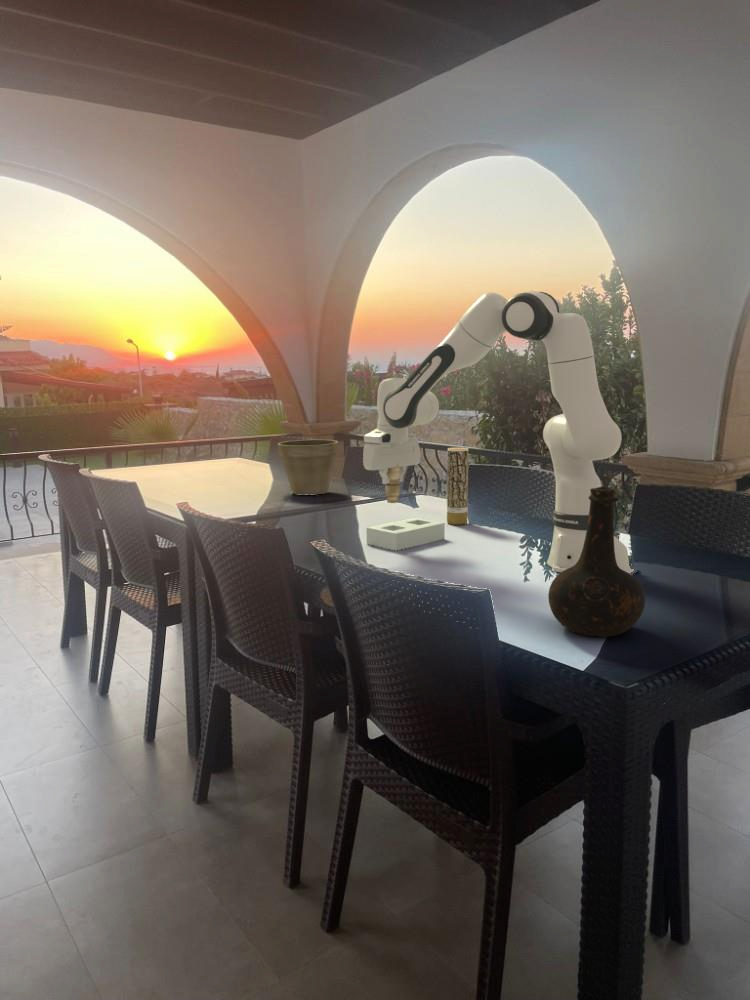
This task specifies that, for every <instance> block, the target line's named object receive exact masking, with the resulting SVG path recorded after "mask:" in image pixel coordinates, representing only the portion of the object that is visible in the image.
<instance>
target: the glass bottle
mask: <svg viewBox="0 0 750 1000" xmlns="http://www.w3.org/2000/svg"><path fill="white" fill-rule="evenodd" d="M590 491H591V495H590V496H589V497H588V498H589V500H590V510H589V517H588V525H587V531H586V536H585V541H584V546H583V549H582V552H581V555H580V558H579V560H578V562H577V563H576V564H575V565H574V566H572V567H570V568H568V569H566V570H564V571H563V572H559V573H558V574H557V575H556V576H555V577H554V579H553V580H552V582H551V584H550V586H549V589H548V595H547V596H548V604H549V607H550V611H551V613H552V614H553V616H554V618H555V619H556V621H557V622H558V623H559V624H560V625H561V626H562V627H564V628H565V629H567V630H568V631H571V632H572V633H576V634H579V635H582V634H583V635H584V636H587V635H588V636H587V637H594V636H596V637H597V638H607V637H609V636H610V637H616V636H618V635H619V636H620V635H622V634H623V633H625V632H627V631H628V630H630V628H633V626H634V625H635V624H636V623H637V622H638V621H639V619H640V618H641V616H642V614H643V612H644V609H645V606H646V594H645V591H644V589H643V586H642V585H641V583H640V581H638V579H637V578H636V577H635V576H634V575H631V574H629V573H628V572H626V571H624V570H622V569H620V568H619V567H618V565H617V562H616V558H615V550H614V536H615V534H614V533H615V532H614V527H615V525H614V524H615V523H614V522H615V521H614V517H615V515H614V513H615V512H614V511H615V503H616V502H618V501H620V498H619V497H617V496H615V495H616V494H615V493H616V489H615V488H612V487H608V486H607V487H606V486H601V487H598V488H591V489H590Z"/></svg>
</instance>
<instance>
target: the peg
mask: <svg viewBox="0 0 750 1000" xmlns="http://www.w3.org/2000/svg"><path fill="white" fill-rule="evenodd" d="M386 474H387V476H388V478H390V484H385V497H386V503H387V504H388V503H389V504H397V503H399V496H400V484H401V482H400V467H399V461H397V462H396V466H395V467H394V468H388V472H386Z"/></svg>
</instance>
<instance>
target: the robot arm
mask: <svg viewBox="0 0 750 1000" xmlns="http://www.w3.org/2000/svg"><path fill="white" fill-rule="evenodd" d="M505 333H509V334H510V335H511V336H513V337H515V338H518V339H522V340H532V341H537V342H539V341H542V343H543V344H544V346H545V350H546V356H547V363H548V364H547V365H548V371H549V379H550V380H549V381H550V388H551V394H552V395H553V397H554V399H555V400H556V402H557V403H558V405H559V406H560V408H561V411H562V413H560V414H557V415H555V416H552V417H550V418H549V420H547V421H546V423H545V425H544V427H543V430H542V438H543V442H544V443H545V445H546V446H547V448H548V450H549V454H550V457H551V462H552V466H553V471H554V477H555V478H554V479H555V509H554V510H553V517H552V528H553V533H552V534H553V535H552V540H551V541H552V543H551V546H550V552H549V555H548V558H547V561H546V564H547V566H549V567H550V568H551V569H552V571H553V572H557V573H561V572H563V571H564V570H566V569H568V568H570V567H572V566H574V565H575V564H576V563H577V562H578V560H579V558H580V555H581V552H582V549H583V546H584V541H585V536H586V531H587V525H588V517H589V510H590V500H589V498H588V497H589V496H590V495H591V491H590V489H591V488H598V487H602V484H601V483H602V481H601V479H600V477H599V476H598V474H597V473H596V470H595V466H594V463H593V461H601V460H605V459H608V458H611V457H613V456H614V455H615V454H616V453H617V452H618V451H619V449H620V447H621V444H622V432H621V429H620V427H619V426H618V424H617V423H616V422H615V421H614V419H612V417H611V415H610V414H609V412H608V409H607V407H606V404H605V402H604V400H603V397H602V394H601V391H600V387H599V382H598V375H597V369H596V362H595V361H596V360H595V354H594V346H593V341H592V337H591V332H590V330H589V327H588V323H587V320H586V319H585V318H584V316H582V315H581V314H578V313H575V312H565V313H562V312H561V313H560V307H559V305H558V302H557V300H556V299H555V298H554V297H553V296H552V295H551V294H549V293H547V292H543V291H536V290H531V291H530V290H529V291H525V292H520V293H517V294H514V295H513V296H512V297H511V298H509V299H506V298H505V296H503V295H502V294H499V293H496V292H492V291H491V292H486V293H484V294H482V295H481V296H480V297H479V298H478V299H476V301H474V302H473V304H472V305H471V306H470V307H469V308H467V310H466V311H465V313H463V314H462V316H461V317H460V318H459V320H457V322H456V324H455V325H454V326H453V328H452V329H451V331H449V333H448V334H447V335H446V337H445V338H444V339H443V340H442V341H441V342H440V343H439V344H438V345H437V346H436V347H435V348H434V349H433V351H431V352H430V353H429V354H428V355H427V356H426V358H424V360H423V361H422V362H421V363H420V364H419V365H418V366H417V368H416V369H415V370H414V371H413V372H412V373H411V375H410V376H409V377H407V378H405V377H403V376H395V377H390V378H385V379H383V380H382V381H380V383H379V386H378V389H377V398H376V399H377V402H376V404H377V405H376V407H377V408H376V409H377V413H378V418H377V423H376V425H377V426H376V427H377V428H375V429H373V430H372V431H370V432H368V433H366V434H365V435H364V437H363V442H364V443H365V444H364V446H363V450H362V451H363V453H362V454H363V455H362V456H363V457H362V463H363V464H362V465H363V468H364V469H365V470H368V471H378V473H379V475H380V477H381V483H382V485H386V484H390V478H388V476H387V474H386V472H388V468H394V467H395V466H396V462H397V461H399V467H400V483H403V482H404V476H405V473H406V472H407V467H410V466H416V465H417V466H418V465H419V464H420V462H421V451H420V449H421V448H420V444H419V438H418V436H417V435H416V434H415V433H409V427H412V426H419V425H427V424H429V423H432V422H433V421H435V420H436V418H437V417H438V415H439V413H440V406H441V405H440V402H439V401H440V400H439V398H438V396H437V394H435V393H434V392H432V391H431V390H432V389H433V388H434V386H436V384H437V383H438V382H439V381H440V380H441V379H443V378H444V377H445V376H447V375H448V374H450V373H453V372H455V371H458V370H461V369H464V368H465V369H466V368H469V367H471V366H472V367H473V366H474V365H476V364H477V363H478V362H479V361H481V360H482V359H483V358H484V357H485V356H487V354H488V353H489V352H490V351H491V349H492V348H493V347H494V346H495V345H496V343H498V341H499V340H500V338H501V337H502V336H503V335H504V334H505ZM614 550H615V558H616V562H617V565H618V567H619V568H620V569H622V570H624V571H626V572H628V573H631V572H633V571H634V569H631V568H630V566H629V564H630V561H629V560H630V559H629V553H628V548H627V546H626V545H625V544H624V543H623V542H622V541H621V540H619V538H618V537H616V536H615V535H614Z"/></svg>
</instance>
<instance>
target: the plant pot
mask: <svg viewBox="0 0 750 1000" xmlns="http://www.w3.org/2000/svg"><path fill="white" fill-rule="evenodd" d="M277 449H278V450H277V451H278V456H280V457H281V461H282V465H283V468H284V470H285V471H284V472H285V474H286V477H287V480H288V484H289V486H290V490H291V492H292V494H293V493H294V494H308V495H310V494H323V493H326V494H327V493H328V491H329V488H330V482H331V478H332V474H333V469H334V466H335V460H336V455H337V454H338V453H339V441H338V440H336V439H335V440H334V439H299V440H298V439H297V440H289V441H288V440H286V441H281V442H278V443H277ZM294 494H293V495H294ZM323 495H324V494H323Z"/></svg>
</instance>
